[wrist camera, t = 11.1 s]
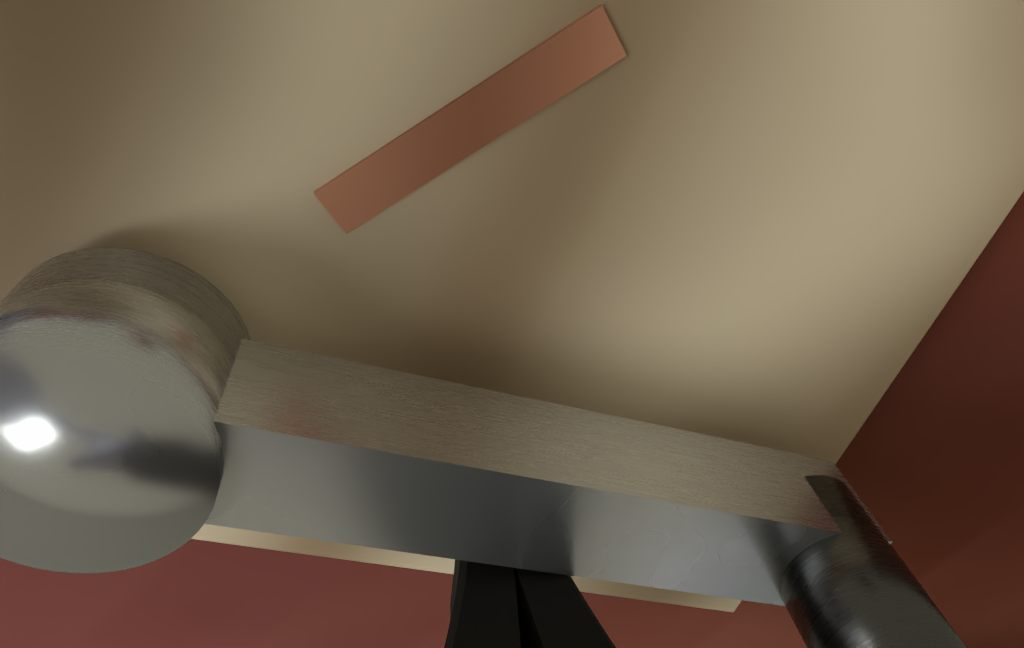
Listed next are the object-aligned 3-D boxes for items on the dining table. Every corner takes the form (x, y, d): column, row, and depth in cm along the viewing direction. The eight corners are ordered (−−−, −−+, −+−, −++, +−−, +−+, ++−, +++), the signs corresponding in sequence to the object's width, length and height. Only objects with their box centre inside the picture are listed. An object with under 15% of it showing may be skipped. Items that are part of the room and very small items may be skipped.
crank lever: (-1, 422, 11) (-200, 691, 7) (3, 218, 9) (-244, 429, 6) (776, 550, 14) (900, 772, 11) (868, 417, 13) (1047, 624, 9)
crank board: (-106, 429, 13) (-175, 504, 11) (-159, -507, 7) (-305, -606, 6) (708, 557, 17) (739, 624, 16) (1047, 24, 12) (1144, 46, 10)
